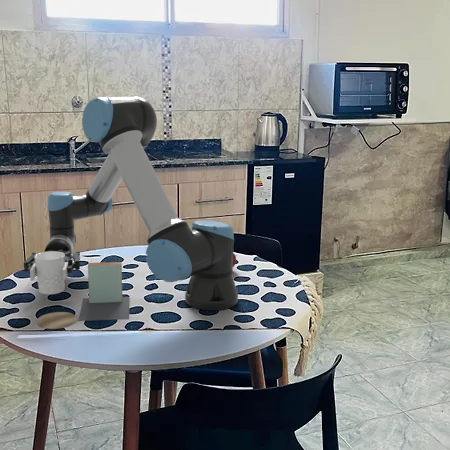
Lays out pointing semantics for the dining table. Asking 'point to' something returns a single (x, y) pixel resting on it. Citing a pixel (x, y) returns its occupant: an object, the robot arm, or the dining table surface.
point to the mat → (104, 310)
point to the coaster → (56, 320)
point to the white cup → (50, 272)
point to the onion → (234, 259)
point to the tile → (105, 282)
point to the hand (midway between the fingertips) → (48, 275)
